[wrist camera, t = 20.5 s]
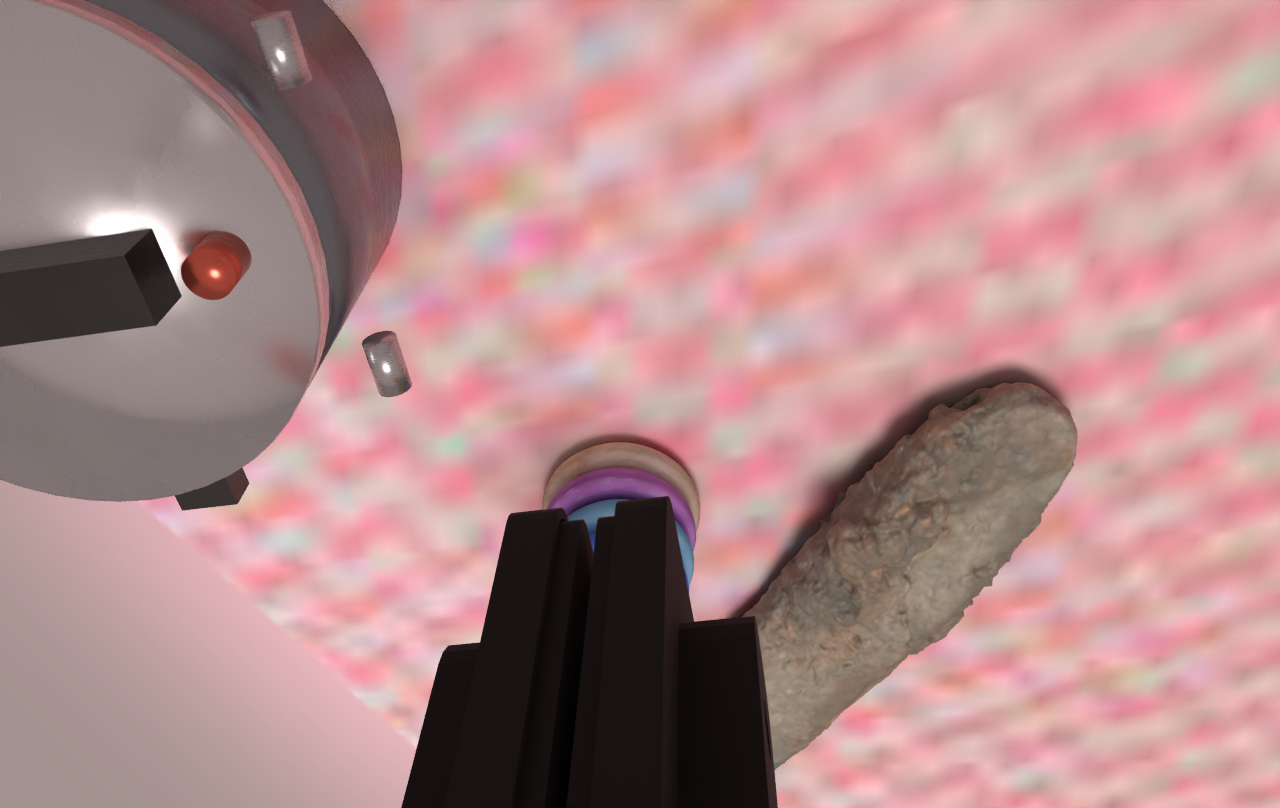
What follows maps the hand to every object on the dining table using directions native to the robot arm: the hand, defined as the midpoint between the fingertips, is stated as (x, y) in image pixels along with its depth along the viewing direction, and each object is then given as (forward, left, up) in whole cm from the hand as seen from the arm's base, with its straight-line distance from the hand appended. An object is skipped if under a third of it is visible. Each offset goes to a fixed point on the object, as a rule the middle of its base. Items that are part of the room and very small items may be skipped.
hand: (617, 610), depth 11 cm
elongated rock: (+34, +4, -36) cm, 50 cm away
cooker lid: (+4, -21, -24) cm, 32 cm away
